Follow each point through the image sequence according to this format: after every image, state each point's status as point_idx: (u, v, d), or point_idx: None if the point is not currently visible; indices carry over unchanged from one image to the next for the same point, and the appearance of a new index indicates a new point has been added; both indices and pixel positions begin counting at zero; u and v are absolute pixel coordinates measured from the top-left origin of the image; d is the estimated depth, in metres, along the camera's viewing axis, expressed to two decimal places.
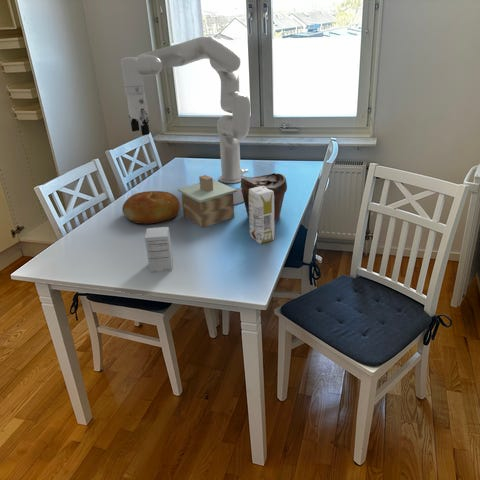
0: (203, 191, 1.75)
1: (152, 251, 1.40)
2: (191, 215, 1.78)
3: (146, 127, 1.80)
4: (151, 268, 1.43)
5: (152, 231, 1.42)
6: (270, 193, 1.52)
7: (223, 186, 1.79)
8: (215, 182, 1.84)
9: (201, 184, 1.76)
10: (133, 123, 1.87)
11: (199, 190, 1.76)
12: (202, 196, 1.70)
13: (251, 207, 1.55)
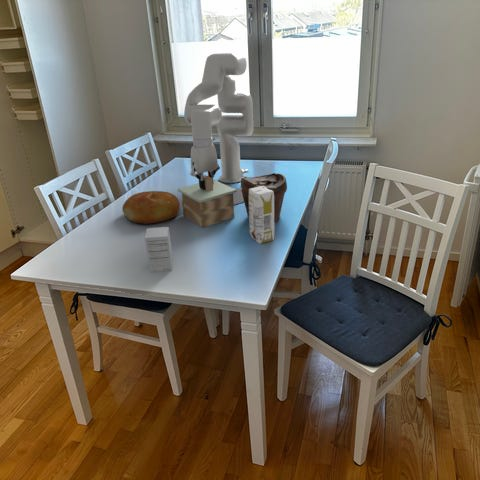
0: (203, 191, 1.75)
1: (152, 251, 1.40)
2: (191, 215, 1.78)
3: None
4: (151, 268, 1.43)
5: (152, 231, 1.42)
6: (270, 193, 1.52)
7: (223, 186, 1.79)
8: (215, 182, 1.84)
9: None
10: None
11: (199, 190, 1.76)
12: (202, 196, 1.70)
13: (251, 207, 1.55)
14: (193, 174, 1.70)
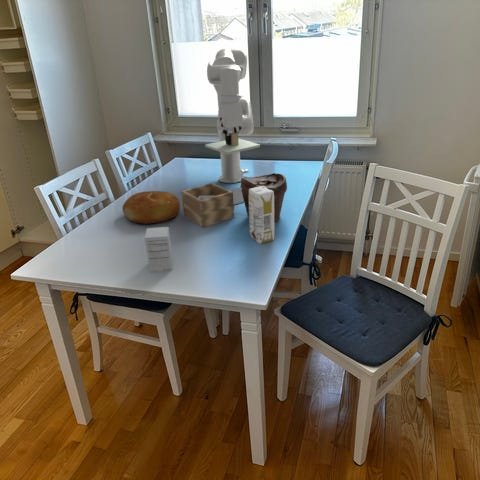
0: (229, 146, 1.88)
1: (152, 251, 1.40)
2: (191, 215, 1.78)
3: None
4: (151, 268, 1.43)
5: (152, 231, 1.42)
6: (270, 193, 1.52)
7: (247, 142, 1.92)
8: (239, 139, 1.97)
9: None
10: None
11: (225, 145, 1.89)
12: (229, 149, 1.83)
13: (251, 207, 1.55)
14: (220, 129, 1.83)
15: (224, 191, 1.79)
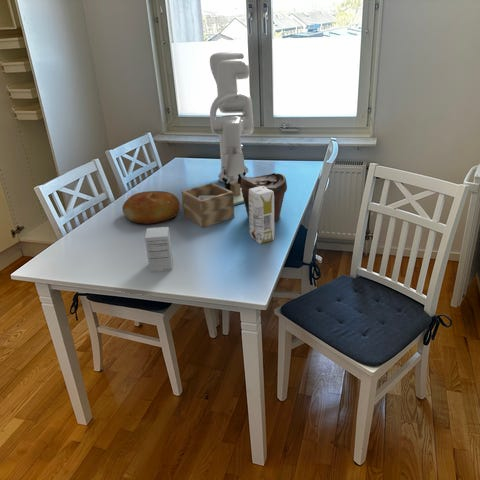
0: None
1: (152, 251, 1.40)
2: (191, 215, 1.78)
3: None
4: (151, 268, 1.43)
5: (152, 231, 1.42)
6: (270, 193, 1.52)
7: None
8: None
9: None
10: None
11: None
12: None
13: (251, 207, 1.55)
14: (221, 176, 1.92)
15: (224, 191, 1.79)
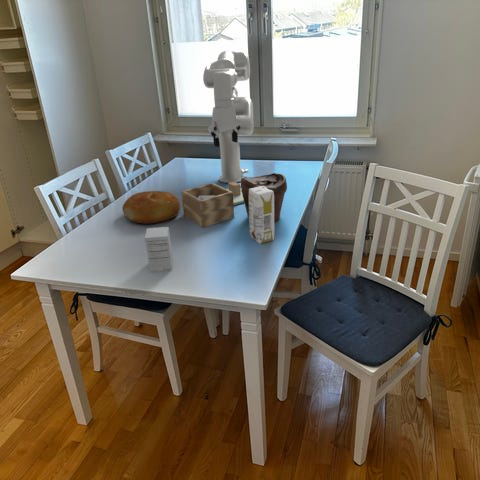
0: None
1: (152, 251, 1.40)
2: (191, 215, 1.78)
3: None
4: (151, 268, 1.43)
5: (152, 231, 1.42)
6: (270, 193, 1.52)
7: None
8: None
9: (230, 189, 2.00)
10: None
11: None
12: None
13: (251, 207, 1.55)
14: (210, 129, 1.83)
15: (224, 191, 1.79)
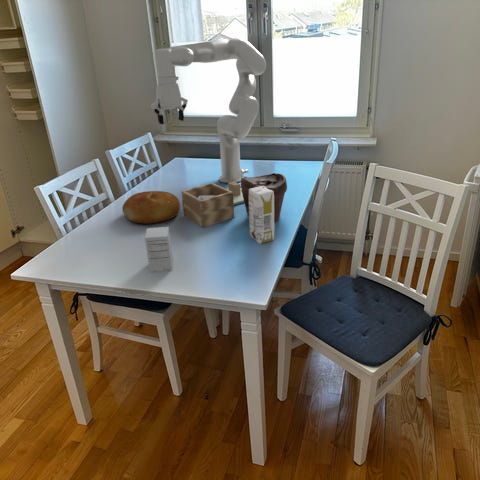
0: None
1: (152, 251, 1.40)
2: (191, 215, 1.78)
3: None
4: (151, 268, 1.43)
5: (152, 231, 1.42)
6: (270, 193, 1.52)
7: None
8: None
9: (230, 189, 2.00)
10: None
11: None
12: None
13: (251, 207, 1.55)
14: (153, 106, 1.85)
15: (224, 191, 1.79)
